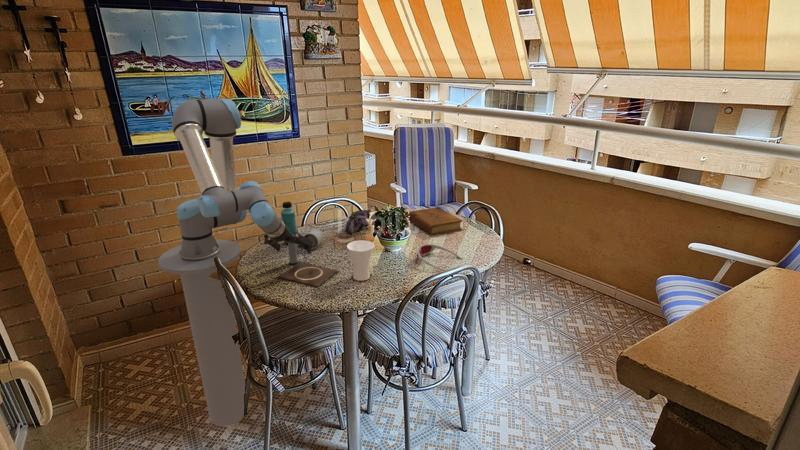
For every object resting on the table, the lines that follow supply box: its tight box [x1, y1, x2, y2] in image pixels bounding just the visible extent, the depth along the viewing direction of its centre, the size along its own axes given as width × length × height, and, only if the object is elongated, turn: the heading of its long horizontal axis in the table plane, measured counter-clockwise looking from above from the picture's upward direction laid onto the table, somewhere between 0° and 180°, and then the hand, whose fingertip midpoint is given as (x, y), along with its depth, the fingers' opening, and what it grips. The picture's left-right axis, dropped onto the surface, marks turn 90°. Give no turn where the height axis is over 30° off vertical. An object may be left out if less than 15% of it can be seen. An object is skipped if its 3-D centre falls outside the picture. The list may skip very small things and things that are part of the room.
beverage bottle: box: [280, 201, 297, 243], centre depth 189 cm, size 6×7×20 cm
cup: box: [346, 239, 375, 282], centre depth 158 cm, size 10×10×14 cm
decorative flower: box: [345, 209, 372, 235], centre depth 207 cm, size 15×12×15 cm
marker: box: [287, 239, 299, 266], centre depth 170 cm, size 3×3×12 cm
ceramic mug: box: [303, 228, 325, 250], centre depth 188 cm, size 11×8×8 cm
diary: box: [408, 206, 463, 237], centre depth 213 cm, size 23×19×6 cm
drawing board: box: [278, 262, 339, 288], centre depth 162 cm, size 18×14×1 cm
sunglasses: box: [416, 243, 462, 272], centre depth 174 cm, size 17×17×5 cm
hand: (294, 249), depth 172 cm, fingers open, 13 cm apart
